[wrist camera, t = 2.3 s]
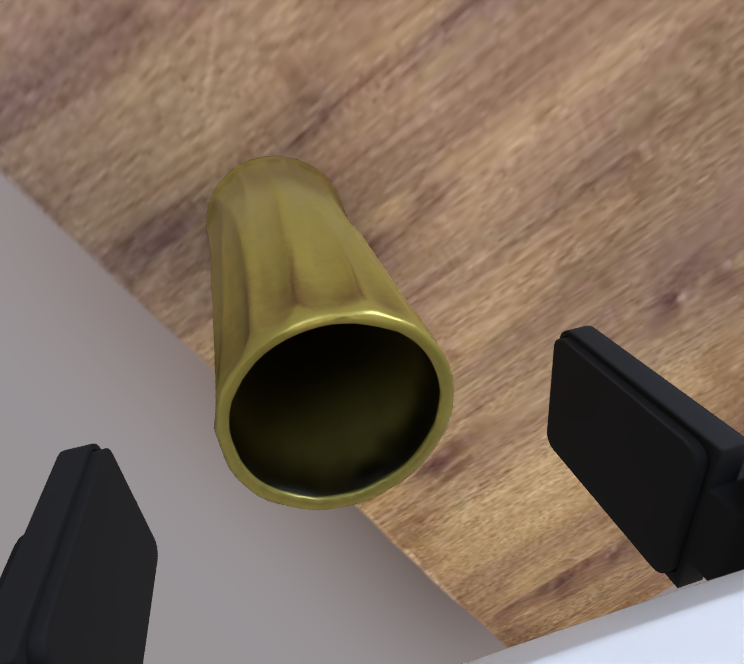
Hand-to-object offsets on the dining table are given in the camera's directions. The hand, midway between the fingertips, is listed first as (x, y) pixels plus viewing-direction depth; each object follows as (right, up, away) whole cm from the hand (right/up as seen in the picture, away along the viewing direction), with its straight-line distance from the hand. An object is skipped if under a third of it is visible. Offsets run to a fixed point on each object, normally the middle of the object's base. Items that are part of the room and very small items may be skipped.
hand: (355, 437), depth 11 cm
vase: (-4, +7, +12) cm, 15 cm away
